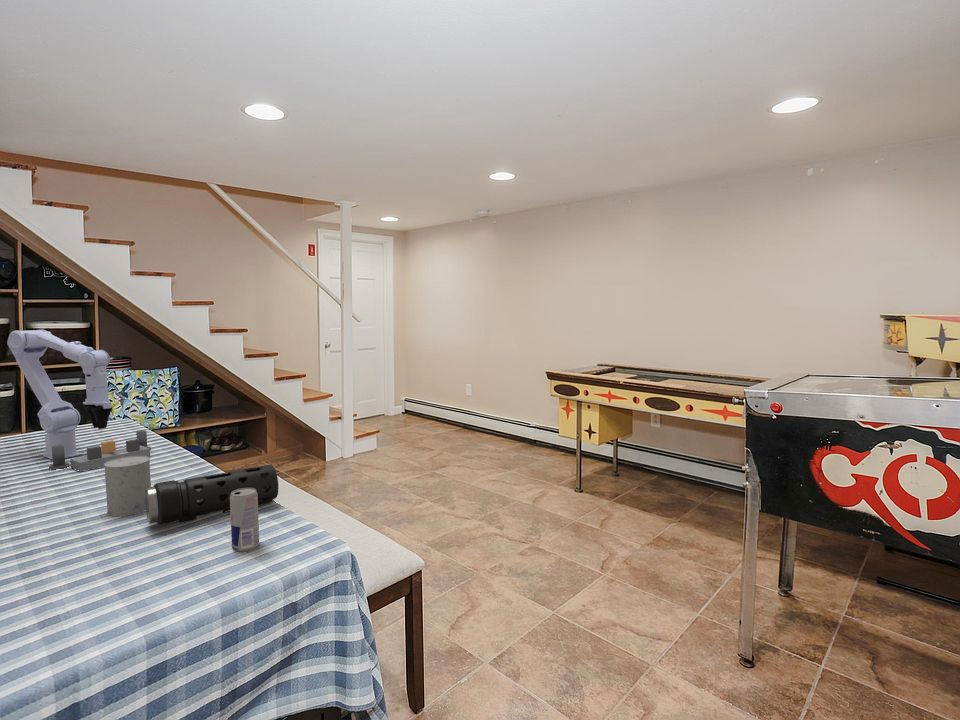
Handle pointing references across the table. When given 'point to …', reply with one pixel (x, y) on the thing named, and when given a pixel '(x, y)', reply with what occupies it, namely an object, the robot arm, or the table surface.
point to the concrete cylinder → (127, 485)
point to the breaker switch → (108, 446)
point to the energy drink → (244, 519)
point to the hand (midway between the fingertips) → (100, 427)
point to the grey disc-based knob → (58, 458)
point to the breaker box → (108, 455)
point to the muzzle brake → (206, 494)
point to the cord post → (142, 438)
